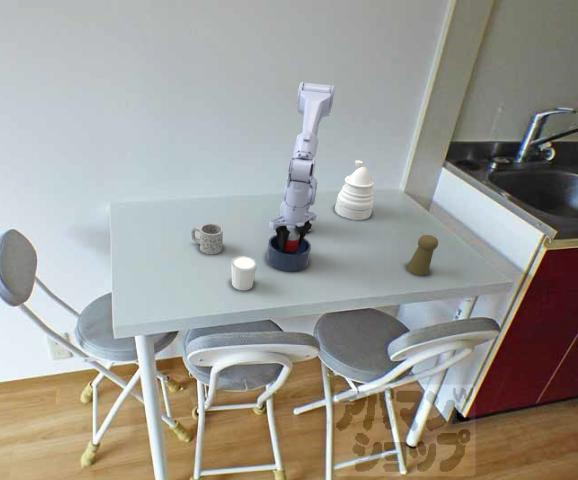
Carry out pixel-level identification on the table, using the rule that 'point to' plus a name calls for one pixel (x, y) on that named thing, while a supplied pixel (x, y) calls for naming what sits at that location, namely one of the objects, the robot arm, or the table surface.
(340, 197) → the honey pot
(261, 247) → the table surface
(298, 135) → the robot arm
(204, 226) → the mug
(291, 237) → the can
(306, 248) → the dark blue round bowl
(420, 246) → the cork
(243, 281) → the white tapered cylinder
